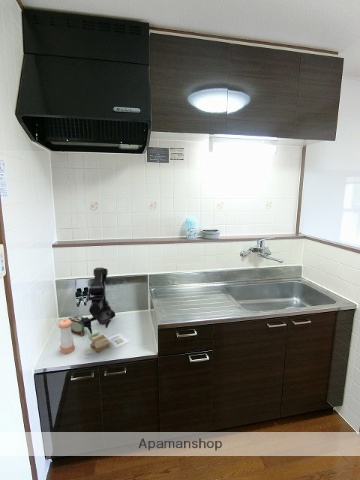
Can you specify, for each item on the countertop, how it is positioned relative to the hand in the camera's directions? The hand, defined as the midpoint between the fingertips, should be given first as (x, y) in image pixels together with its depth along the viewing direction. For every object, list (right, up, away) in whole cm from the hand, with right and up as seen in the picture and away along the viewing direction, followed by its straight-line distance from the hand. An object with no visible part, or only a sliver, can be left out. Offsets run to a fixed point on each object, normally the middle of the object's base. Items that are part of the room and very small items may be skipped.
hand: (99, 331), depth 145 cm
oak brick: (0, -8, +2) cm, 8 cm away
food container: (-18, -7, +17) cm, 26 cm away
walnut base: (0, -11, +2) cm, 11 cm away
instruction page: (+9, -9, +9) cm, 15 cm away
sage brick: (-7, -8, +11) cm, 15 cm away
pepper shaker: (-18, -11, 0) cm, 21 cm away
